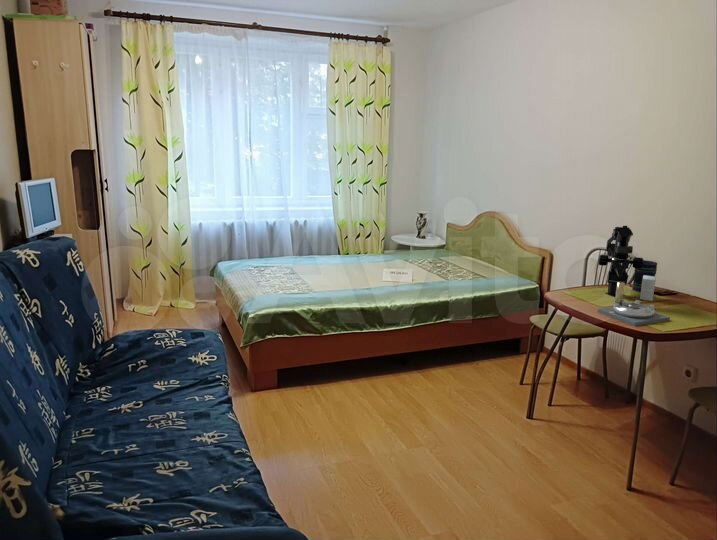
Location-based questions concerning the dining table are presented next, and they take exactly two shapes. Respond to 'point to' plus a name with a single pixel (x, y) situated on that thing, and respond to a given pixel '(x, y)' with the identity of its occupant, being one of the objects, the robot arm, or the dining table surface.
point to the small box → (647, 287)
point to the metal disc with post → (631, 305)
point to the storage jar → (647, 269)
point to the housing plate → (634, 321)
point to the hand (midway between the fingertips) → (619, 276)
